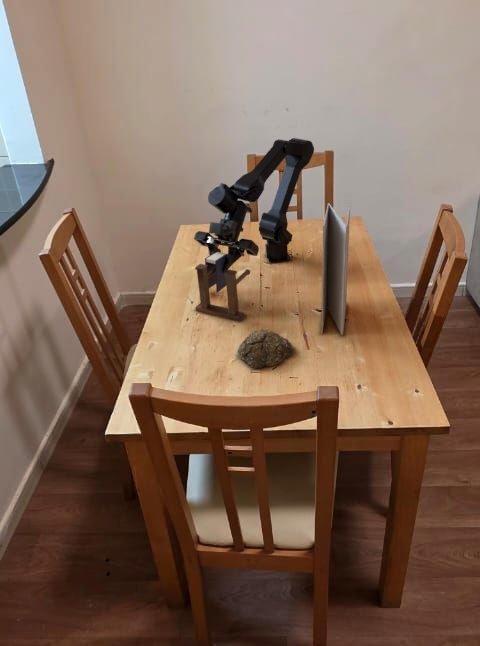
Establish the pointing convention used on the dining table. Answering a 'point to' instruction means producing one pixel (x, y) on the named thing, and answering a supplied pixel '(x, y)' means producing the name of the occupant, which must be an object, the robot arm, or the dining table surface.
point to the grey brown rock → (264, 349)
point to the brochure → (335, 266)
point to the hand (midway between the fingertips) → (217, 271)
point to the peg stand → (231, 285)
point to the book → (217, 278)
